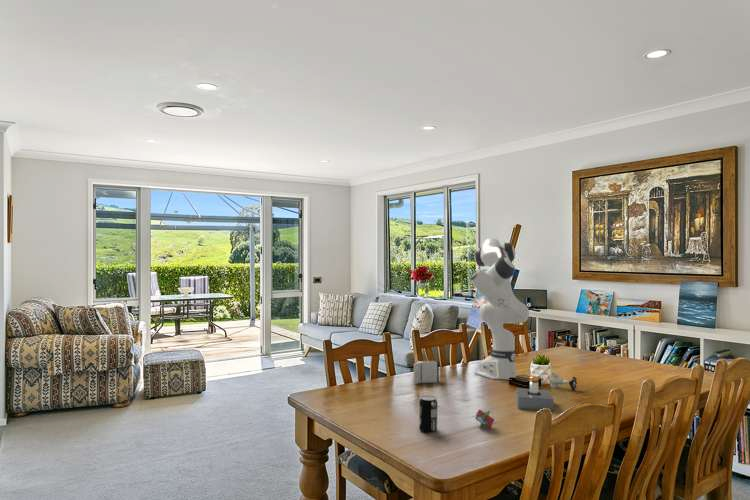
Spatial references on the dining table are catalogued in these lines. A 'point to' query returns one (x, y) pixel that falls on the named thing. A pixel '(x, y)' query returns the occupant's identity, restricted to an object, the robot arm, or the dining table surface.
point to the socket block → (534, 399)
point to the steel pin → (533, 385)
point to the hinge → (426, 371)
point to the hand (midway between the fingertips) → (520, 320)
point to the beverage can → (428, 414)
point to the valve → (561, 381)
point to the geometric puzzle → (484, 419)
